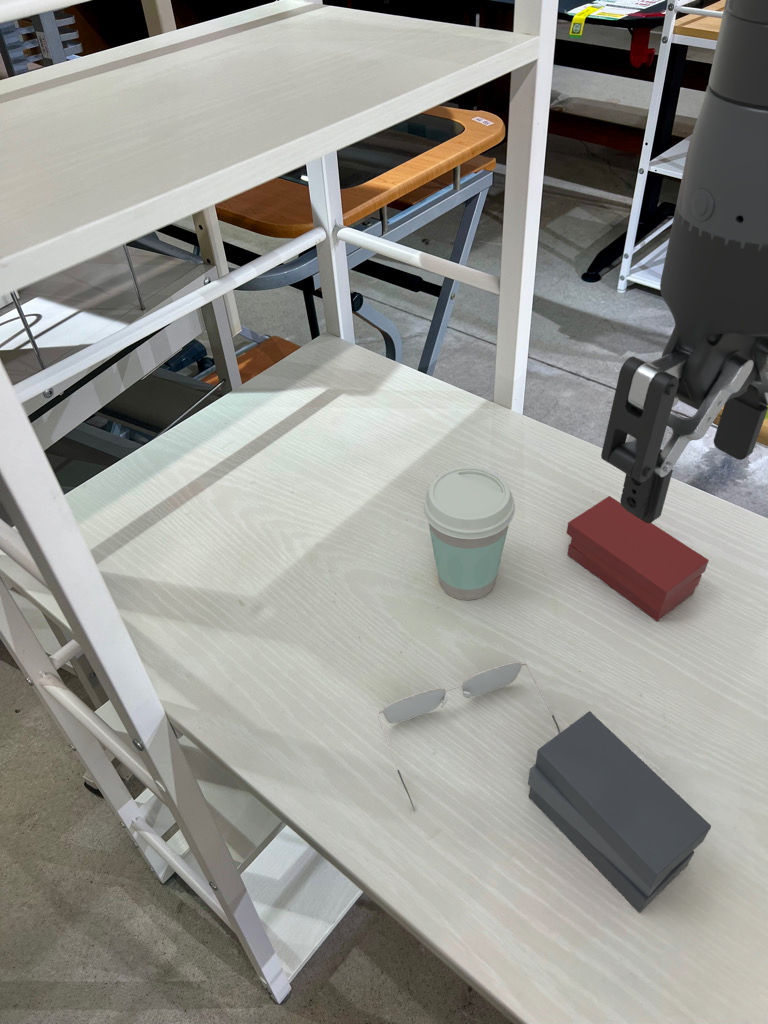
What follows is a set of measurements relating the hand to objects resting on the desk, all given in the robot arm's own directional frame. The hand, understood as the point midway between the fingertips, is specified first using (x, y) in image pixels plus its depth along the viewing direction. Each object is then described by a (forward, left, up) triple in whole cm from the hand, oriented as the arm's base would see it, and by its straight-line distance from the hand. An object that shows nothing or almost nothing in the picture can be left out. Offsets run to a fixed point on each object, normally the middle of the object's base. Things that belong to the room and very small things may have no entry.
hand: (687, 481), depth 44 cm
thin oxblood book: (+11, -15, -25) cm, 31 cm away
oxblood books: (+11, -15, -28) cm, 34 cm away
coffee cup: (+21, -2, -28) cm, 35 cm away
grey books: (-5, +7, -28) cm, 29 cm away
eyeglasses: (+7, +10, -28) cm, 31 cm away
